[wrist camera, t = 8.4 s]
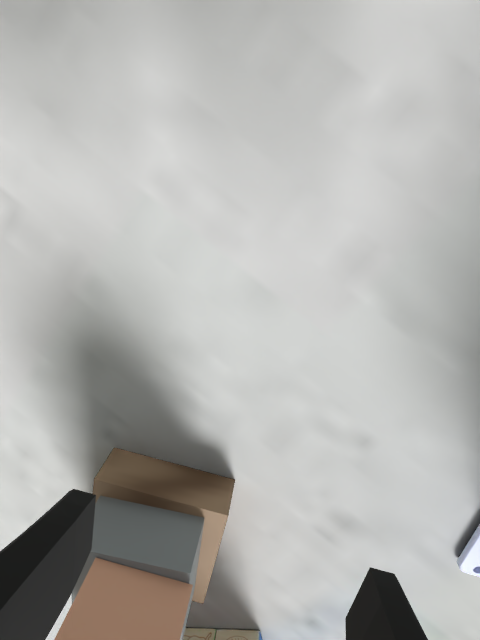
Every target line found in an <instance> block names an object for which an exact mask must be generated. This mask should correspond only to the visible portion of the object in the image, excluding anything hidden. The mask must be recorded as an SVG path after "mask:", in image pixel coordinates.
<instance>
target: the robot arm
mask: <svg viewBox="0 0 480 640" xmlns="http://www.w3.org/2000/svg"><path fill="white" fill-rule="evenodd" d="M95 502H96V495H94V494H91V493H87V492H83V491H79V490H75V489H73V490H71V491H69V492H68V493H67V494H66V495H65V496H64V497H63V498H62V499H61V500H60V501H58V502H57V503H56V504H55V505H54V506H53V507H52V508H51V509H50V510H49V511H47V512H46V513H45V514H44V515H43V516H42V517H41V518H40V519H38V520H37V521H36V522H35V523H34V524H33V525H31V526H30V527H29V528H28V529H27V530H26V531H25V532H23V533H22V534H21V535H20V536H19V537H17V538H16V539H15V540H14V541H12V542H11V543H10V544H9V545H8V546H6V547H5V548H4V549H3V550H2V551H0V640H45V639H46V637H47V636H48V634H49V632H50V630H51V629H52V627H53V625H54V623H55V622H56V620H57V618H58V616H59V615H60V613H61V611H62V609H63V608H64V606H65V604H66V602H67V601H68V599H69V597H70V595H71V593H72V591H73V589H74V587H75V585H76V583H77V581H78V578H79V576H80V574H81V572H82V570H83V567H84V565H85V563H86V561H87V558H88V556H89V554H90V552H91V549H92V538H93V526H94V514H95ZM457 564H458V566H459V569H460V570H461V571H462V572H464V573H467V574H471V575H475V576H479V577H480V524H479V526H478V527H477V529H476V531H475V532H474V534H473V535H472V537H471V539H470V540H469V542H468V544H467V545H466V547H465V548H464V550H463V552H462V553H461V555H460V556H459V558H458V560H457ZM346 640H428V639H427V637H426V635H425V633H424V631H423V629H422V627H421V625H420V623H419V621H418V620H417V618H416V616H415V614H414V612H413V610H412V608H411V606H410V604H409V602H408V600H407V598H406V596H405V594H404V592H403V590H402V588H401V586H400V584H399V582H398V580H397V578H396V576H395V574H393V573H389V572H385V571H381V570H378V569H374V568H370V569H369V571H368V573H367V575H366V577H365V579H364V581H363V583H362V585H361V587H360V590H359V592H358V594H357V596H356V598H355V600H354V602H353V604H352V606H351V608H350V610H349V612H348V614H347V616H346Z"/></svg>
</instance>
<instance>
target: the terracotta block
mask: <svg viewBox="0 0 480 640" xmlns="http://www.w3.org/2000/svg"><path fill="white" fill-rule="evenodd" d="M192 587H193V585H192V584H188V583H184V582H181V581H177V580H174V579H170V578H167V577H163V576H160V575H156V574H153V573H149V572H146V571H142V570H138V569H135V568H131V567H128V566H124V565H121V564H117V563H114V562H110V561H107V560H103V559H99V558H95V560H94V562H93V564H92V566H91V568H90V570H89V572H88V574H87V576H86V578H85V580H84V582H83V584H82V586H81V588H80V590H79V592H78V594H77V596H76V598H75V600H74V602H73V604H72V606H71V608H70V610H69V612H68V614H67V616H66V618H65V620H64V622H63V624H62V626H61V628H60V630H59V632H58V634H57V636H56V638H55V640H180V637H181V633H182V629H183V624H184V620H185V616H186V612H187V608H188V604H189V600H190V595H191V591H192Z"/></svg>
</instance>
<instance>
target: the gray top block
mask: <svg viewBox="0 0 480 640" xmlns="http://www.w3.org/2000/svg"><path fill="white" fill-rule="evenodd" d="M204 519H205V518H204V517H199V516H194V515H190V514H185V513H180V512H175V511H171V510H166V509H161V508H157V507H152V506H147V505H143V504H138V503H133V502H129V501H124V500H119V499H114V498H110V497H105V496H100V497H99V498H98V500H97V502H96V503H95V514H94V526H93V538H92V549H91V552H90V554H89V556H88V558H87V561H86V563H85V565H84V567H83V570H82V572H81V574H80V576H79V578H78V581H77V583H76V585H75V587H74V589H73V591H72V604H73V602H74V600H75V598H76V596H77V594H78V592H79V590H80V588H81V586H82V584H83V582H84V580H85V578H86V576H87V574H88V572H89V570H90V568H91V566H92V564H93V562H94V560H95V558H99V559H103V560H107V561H110V562H114V563H117V564H121V565H124V566H128V567H131V568H135V569H138V570H142V571H146V572H149V573H153V574H156V575H160V576H163V577H167V578H170V579H174V580H177V581H181V582H184V583H188V584H192V585H193V587H192V591H191V595H190V600H189V604H188V608H187V612H186V616H185V620H184V624H183V629H182V633H181V637H180V640H183V636H184V632H185V627H186V623H187V619H188V615H189V611H190V606H191V602H192V598H193V594H194V589H195V582H196V575H197V568H198V561H199V554H200V547H201V540H202V533H203V526H204Z"/></svg>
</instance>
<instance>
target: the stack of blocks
mask: <svg viewBox="0 0 480 640" xmlns="http://www.w3.org/2000/svg"><path fill="white" fill-rule="evenodd" d="M183 640H262V637H261V633H260V631H255V630H226V629H219V630H216V629H204V628H185V632H184V636H183Z"/></svg>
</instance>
